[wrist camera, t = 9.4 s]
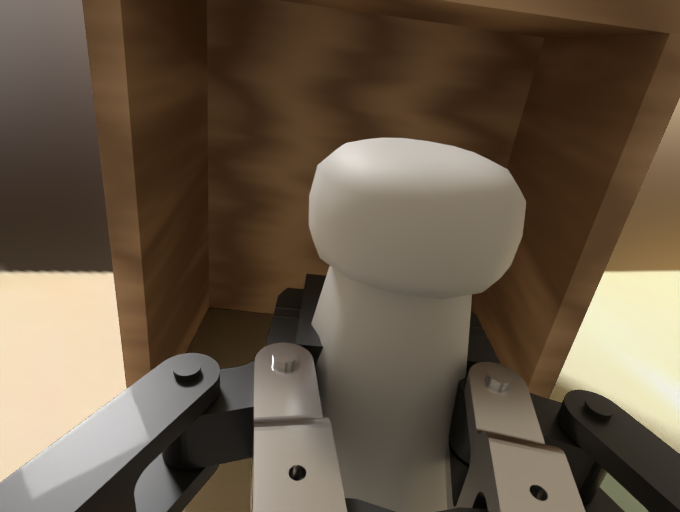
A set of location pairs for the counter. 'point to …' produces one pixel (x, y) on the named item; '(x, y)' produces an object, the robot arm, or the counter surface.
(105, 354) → the counter surface
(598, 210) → the cubby
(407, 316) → the salt shaker
